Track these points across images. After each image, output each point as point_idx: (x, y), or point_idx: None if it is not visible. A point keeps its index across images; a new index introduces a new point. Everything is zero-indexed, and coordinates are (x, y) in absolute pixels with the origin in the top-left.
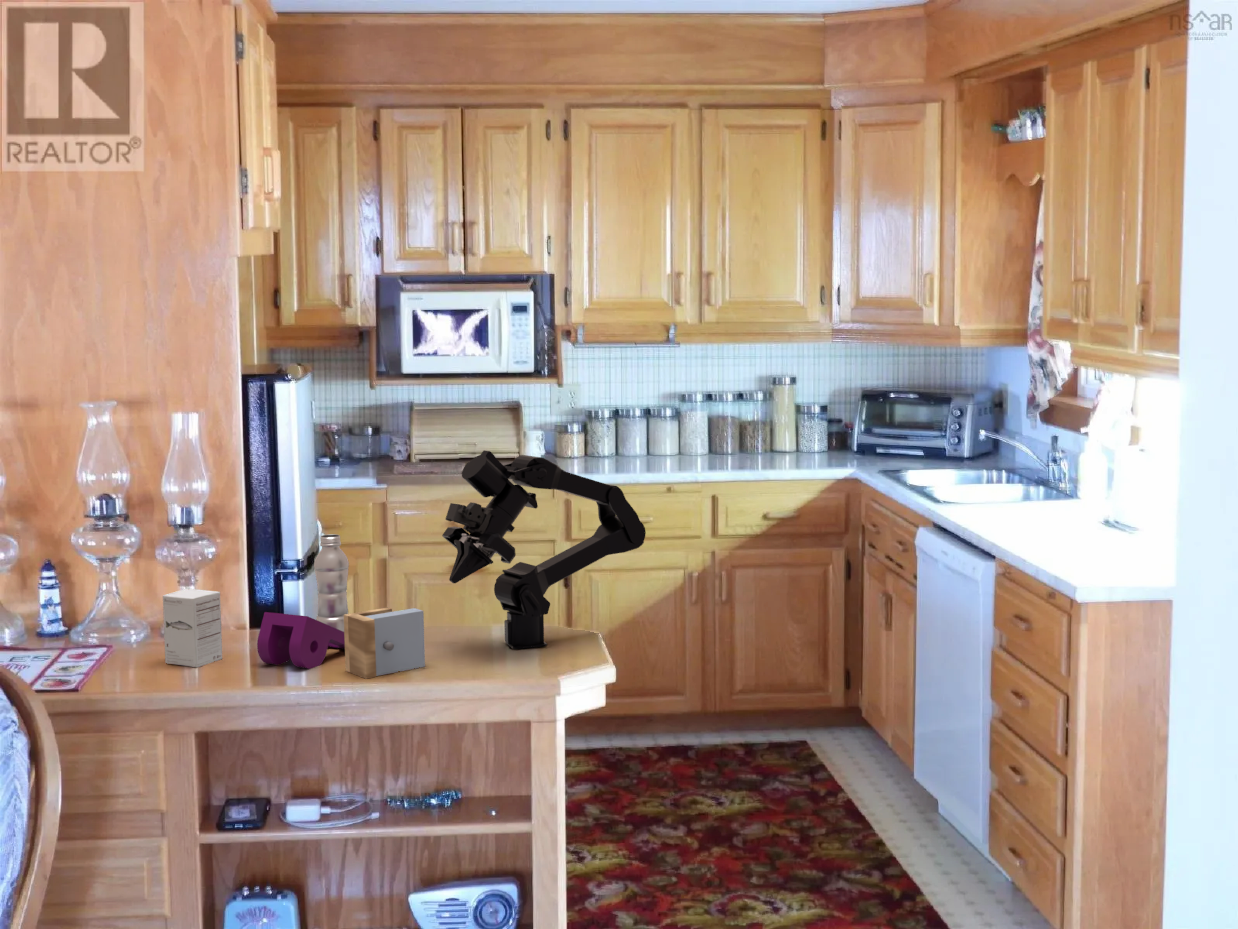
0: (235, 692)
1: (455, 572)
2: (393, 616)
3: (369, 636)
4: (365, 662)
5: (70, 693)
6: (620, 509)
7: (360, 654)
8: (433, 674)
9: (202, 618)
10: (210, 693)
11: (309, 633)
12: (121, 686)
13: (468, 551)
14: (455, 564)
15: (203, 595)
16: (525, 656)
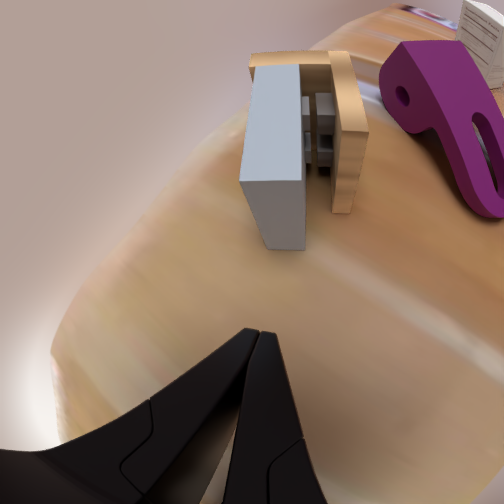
0: (323, 40)
1: (213, 356)
2: (251, 102)
3: None
4: None
5: (396, 6)
6: None
7: None
8: (205, 230)
9: (470, 27)
10: (334, 31)
11: (399, 69)
12: (402, 19)
13: (12, 451)
14: (266, 419)
15: (479, 8)
16: None
